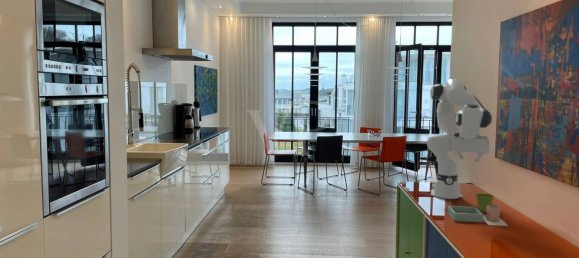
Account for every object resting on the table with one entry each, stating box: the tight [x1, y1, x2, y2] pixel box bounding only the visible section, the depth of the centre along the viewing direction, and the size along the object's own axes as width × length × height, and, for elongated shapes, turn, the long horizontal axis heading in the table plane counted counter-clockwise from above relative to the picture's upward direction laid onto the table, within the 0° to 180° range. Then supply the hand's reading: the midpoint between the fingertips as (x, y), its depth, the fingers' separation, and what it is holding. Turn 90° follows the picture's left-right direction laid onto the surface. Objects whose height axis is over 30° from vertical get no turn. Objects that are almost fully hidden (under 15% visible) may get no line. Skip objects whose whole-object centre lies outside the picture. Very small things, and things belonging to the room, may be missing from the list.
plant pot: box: [475, 192, 495, 213], centre depth 232 cm, size 9×9×9 cm
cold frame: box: [447, 205, 484, 223], centre depth 220 cm, size 14×14×4 cm
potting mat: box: [483, 214, 509, 227], centre depth 215 cm, size 16×9×1 cm, turn 171°
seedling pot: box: [485, 203, 501, 222], centre depth 215 cm, size 6×6×8 cm
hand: (469, 160), depth 224 cm, fingers open, 8 cm apart
